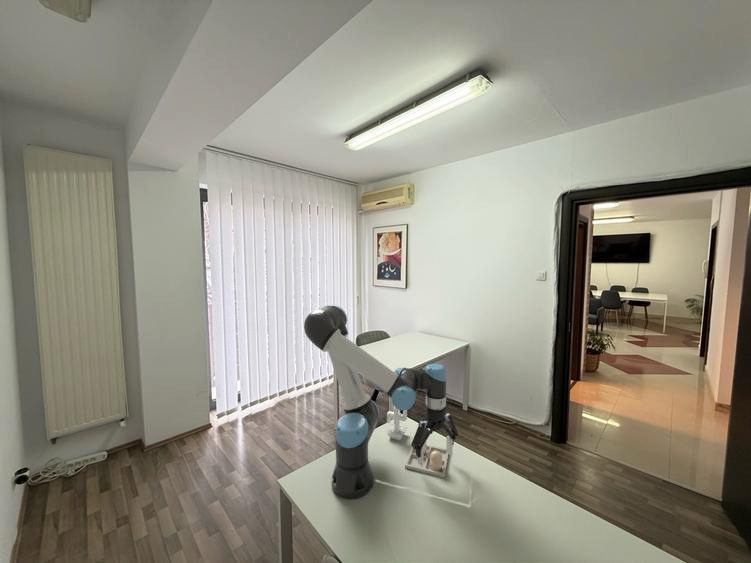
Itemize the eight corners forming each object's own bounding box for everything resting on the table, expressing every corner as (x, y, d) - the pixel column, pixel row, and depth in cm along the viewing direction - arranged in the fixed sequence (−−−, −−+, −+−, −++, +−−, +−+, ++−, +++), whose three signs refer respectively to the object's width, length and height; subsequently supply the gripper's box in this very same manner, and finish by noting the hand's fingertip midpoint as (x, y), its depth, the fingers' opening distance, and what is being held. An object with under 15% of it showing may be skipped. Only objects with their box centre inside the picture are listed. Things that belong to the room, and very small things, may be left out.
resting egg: (414, 454, 121) (414, 439, 120) (416, 447, 125) (416, 432, 124) (425, 457, 119) (425, 441, 118) (427, 450, 123) (427, 434, 123)
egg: (429, 471, 111) (429, 454, 111) (431, 463, 116) (431, 446, 115) (441, 474, 110) (441, 456, 109) (443, 465, 114) (443, 449, 113)
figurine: (390, 431, 138) (389, 400, 137) (409, 435, 135) (409, 404, 133) (384, 439, 132) (384, 407, 131) (404, 444, 128) (404, 412, 127)
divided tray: (404, 469, 113) (404, 465, 113) (413, 446, 127) (413, 441, 127) (444, 479, 108) (444, 474, 108) (448, 454, 122) (448, 449, 122)
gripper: (413, 418, 102) (412, 475, 104) (468, 402, 113) (467, 455, 114) (402, 408, 109) (402, 462, 111) (455, 394, 120) (454, 444, 121)
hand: (435, 458), depth 113 cm, fingers open, 13 cm apart
